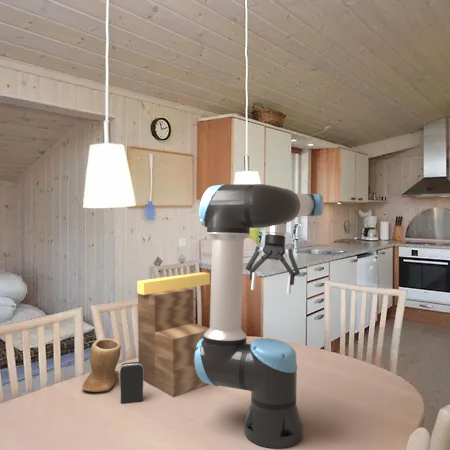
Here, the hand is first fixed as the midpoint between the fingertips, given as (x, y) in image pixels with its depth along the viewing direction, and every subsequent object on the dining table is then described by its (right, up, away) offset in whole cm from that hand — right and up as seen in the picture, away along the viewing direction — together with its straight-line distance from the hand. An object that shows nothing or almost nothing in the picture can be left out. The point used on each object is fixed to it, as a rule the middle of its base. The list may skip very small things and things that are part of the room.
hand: (270, 291), depth 161 cm
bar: (-34, +3, -10) cm, 36 cm away
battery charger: (-45, -29, -29) cm, 61 cm away
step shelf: (-34, -28, -14) cm, 46 cm away
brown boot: (-57, -28, -18) cm, 66 cm away
